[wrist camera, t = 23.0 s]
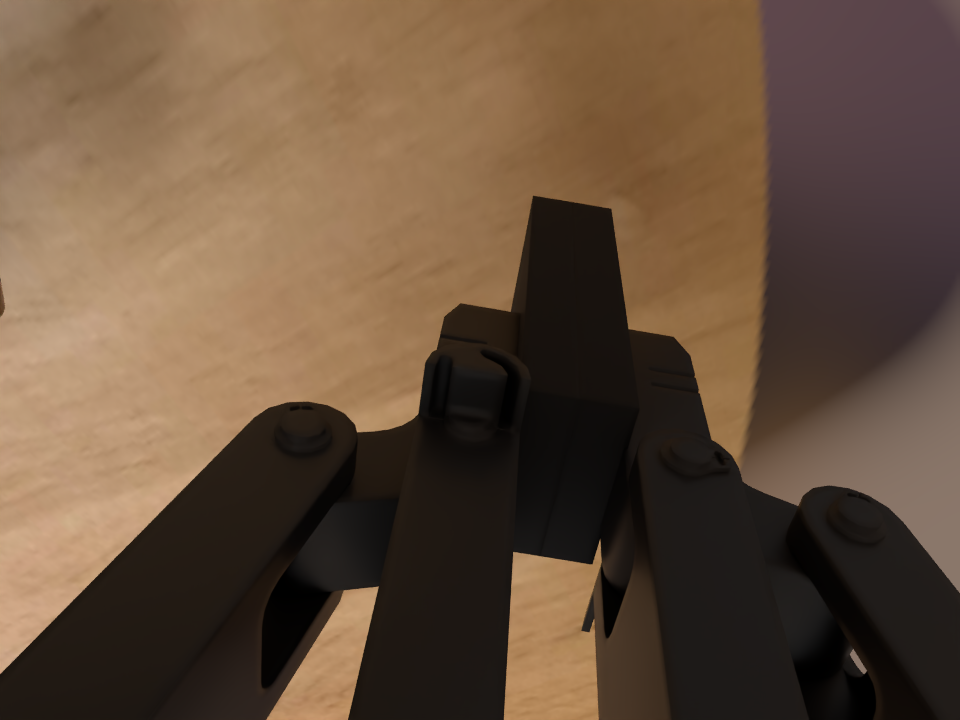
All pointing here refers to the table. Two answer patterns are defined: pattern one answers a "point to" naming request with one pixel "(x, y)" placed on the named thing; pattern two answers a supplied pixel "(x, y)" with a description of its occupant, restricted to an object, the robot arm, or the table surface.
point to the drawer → (1, 300)
